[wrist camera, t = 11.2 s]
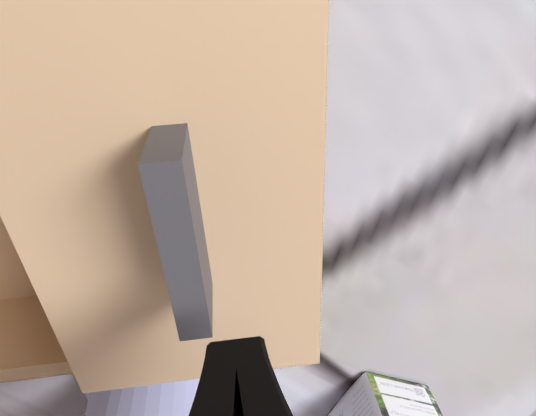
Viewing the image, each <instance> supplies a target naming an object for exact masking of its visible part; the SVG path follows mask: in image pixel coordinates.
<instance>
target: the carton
mask: <svg viewBox="0 0 536 416" xmlns="http://www.w3.org/2000/svg"><path fill="white" fill-rule="evenodd" d="M67 374H73V372H72V370H71V367H70V365H69V363H68V361H67V359H66V357H65V355H64V352H63V350H62V348H61V346H60V344H59V342H58V339H57V337H56V335H55V333H54V331H53V329H52V326H51V324H50V322H49V320H48V318H47V316H46V314H45V311H44V309H43V307H42V305H41V303H40V301H39V298H38V296H37V294H36V292H35V290H34V288H33V285H32V283H31V281H30V279H29V277H28V275H27V273H26V270H25V268H24V266H23V264H22V262H21V260H20V257H19V255H18V253H17V251H16V249H15V247H14V244H13V242H12V240H11V238H10V236H9V234H8V232H7V229H6V227H5V225H4V223H3V221H2V219H1V216H0V383H3V382H11V381H19V380H27V379H35V378H43V377H51V376H59V375H67Z"/></svg>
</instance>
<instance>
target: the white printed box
mask: <svg viewBox="0 0 536 416" xmlns="http://www.w3.org/2000/svg"><path fill="white" fill-rule="evenodd" d="M327 416H443V415H442V413H441V411H440V409H439V407H438V405H437V403H436V401H435V399H434V397H433V395H432V393H431V391H430V389H429V387H428V386H427V385H422V384H418V383H413V382H409V381H405V380H400V379H396V378H392V377H387V376H383V375H379V374H375V373H369V372H364V373H363V374H362V375H361V376H360V377H359V378H358V379H357V381H356V382H355V383H354V384H353V385H352V386H351V387H350V388H349V390H348V391H347V392H346V393H345V394H344V396H343V397H342V398H341V399H340V401H339V402H338V403H337V404H336V406H335V407H334V408H333V409H332V410H331V412H330V413H329V414H328V415H327Z"/></svg>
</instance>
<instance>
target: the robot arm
mask: <svg viewBox="0 0 536 416" xmlns="http://www.w3.org/2000/svg"><path fill="white" fill-rule="evenodd" d="M85 395H86V397H87V400H88V404H87V407H86V411H85V414H84V416H293V415H292V413H291V410H290V408H289V406H288V404H287V402H286V400H285V398H284V395H283V393H282V391H281V389H280V386H279V384H278V381H277V379H276V376H275V374H274V371H273V368H272V365H271V362H270V359H269V356H268V353H267V349H266V345H265V340H264V338H262V337H260V336H256V337H248V338H240V339H231V340H223V341H215V342H210V343H209V344H208V345H207V347H206V353H205V359H204V364H203V368H202V372H201V376H200V379H192V380H185V381H177V382H169V383H161V384H154V385H146V386H138V387H130V388H122V389H115V390H107V391H99V392H91V393H85Z"/></svg>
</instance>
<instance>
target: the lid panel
mask: <svg viewBox="0 0 536 416" xmlns="http://www.w3.org/2000/svg"><path fill="white" fill-rule="evenodd" d="M328 29H329V0H0V216H1V219H2V221H3V223H4V225H5V227H6V229H7V232H8V234H9V236H10V238H11V240H12V242H13V244H14V247H15V249H16V251H17V253H18V255H19V257H20V260H21V262H22V264H23V266H24V268H25V270H26V273H27V275H28V277H29V279H30V281H31V283H32V285H33V288H34V290H35V292H36V294H37V296H38V298H39V301H40V303H41V305H42V307H43V309H44V311H45V314H46V316H47V318H48V320H49V322H50V324H51V326H52V329H53V331H54V333H55V335H56V337H57V339H58V342H59V344H60V346H61V348H62V350H63V352H64V355H65V357H66V359H67V361H68V363H69V365H70V367H71V370H72V372H73V374H74V376H75V378H76V380H77V383H78V385H79V387H80V389H81V391H82V393H83V394H84V393H91V392H99V391H107V390H115V389H122V388H130V387H138V386H146V385H154V384H161V383H169V382H177V381H185V380H192V379H200V376H201V372H202V368H203V364H204V359H205V353H206V347H207V345H208V344H209V343H210V342H215V341H223V340H231V339H240V338H248V337H256V336H260V337H262V338H264V340H265V345H266V349H267V353H268V356H269V359H270V362H271V365H272V368H273V369H278V368H285V367H293V366H301V365H309V364H316V363H320V327H321V290H322V253H323V215H324V178H325V141H326V104H327V67H328Z"/></svg>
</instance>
